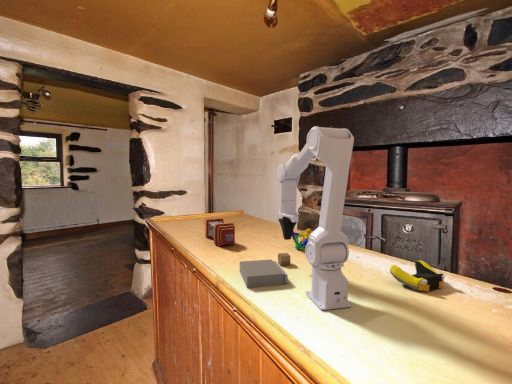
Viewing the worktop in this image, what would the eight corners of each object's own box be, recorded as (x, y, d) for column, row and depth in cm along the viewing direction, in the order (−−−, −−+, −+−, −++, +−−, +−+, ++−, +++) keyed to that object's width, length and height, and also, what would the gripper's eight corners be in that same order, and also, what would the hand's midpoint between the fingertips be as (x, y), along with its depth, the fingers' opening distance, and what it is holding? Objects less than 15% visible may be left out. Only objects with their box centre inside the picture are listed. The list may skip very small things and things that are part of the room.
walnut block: (290, 265, 92) (290, 255, 92) (280, 266, 91) (281, 256, 91) (286, 262, 96) (287, 252, 95) (277, 262, 95) (278, 253, 95)
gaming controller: (385, 282, 79) (417, 296, 70) (386, 264, 79) (418, 276, 69) (418, 274, 85) (451, 287, 76) (419, 258, 85) (453, 268, 75)
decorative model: (330, 240, 112) (306, 235, 104) (322, 258, 113) (298, 255, 105) (310, 227, 123) (287, 222, 114) (303, 244, 124) (280, 240, 115)
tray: (288, 282, 77) (288, 274, 77) (251, 286, 74) (251, 277, 74) (275, 267, 89) (275, 260, 89) (243, 270, 86) (243, 262, 86)
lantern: (202, 216, 136) (220, 228, 109) (219, 215, 140) (241, 226, 113) (202, 235, 137) (220, 250, 110) (219, 233, 141) (240, 248, 114)
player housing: (283, 284, 76) (283, 273, 76) (247, 288, 74) (247, 276, 73) (271, 268, 89) (271, 259, 89) (239, 271, 86) (239, 261, 86)
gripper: (307, 202, 83) (306, 244, 84) (291, 198, 97) (290, 233, 98) (286, 202, 81) (286, 245, 82) (273, 198, 95) (272, 234, 96)
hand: (287, 239), depth 90 cm, fingers closed
